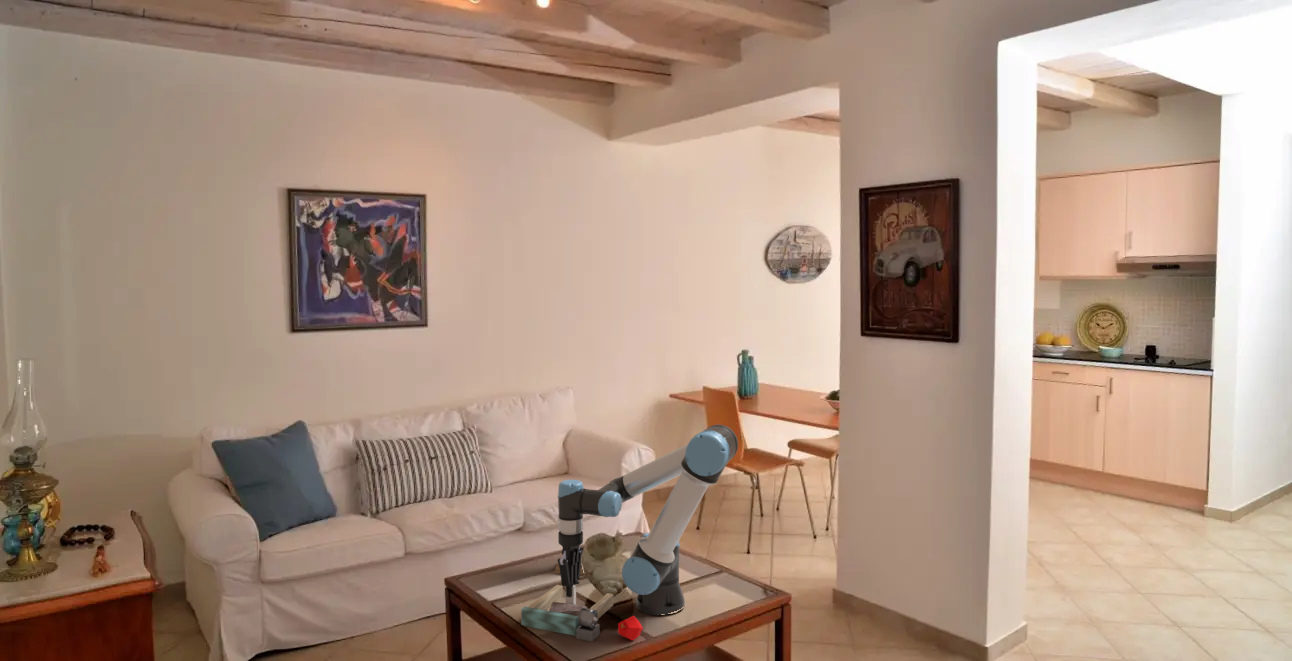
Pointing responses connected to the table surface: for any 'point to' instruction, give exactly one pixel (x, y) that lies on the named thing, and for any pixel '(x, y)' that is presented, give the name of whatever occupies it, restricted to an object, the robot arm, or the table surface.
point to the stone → (566, 608)
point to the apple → (630, 628)
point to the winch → (587, 625)
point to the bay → (557, 621)
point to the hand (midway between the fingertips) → (571, 605)
